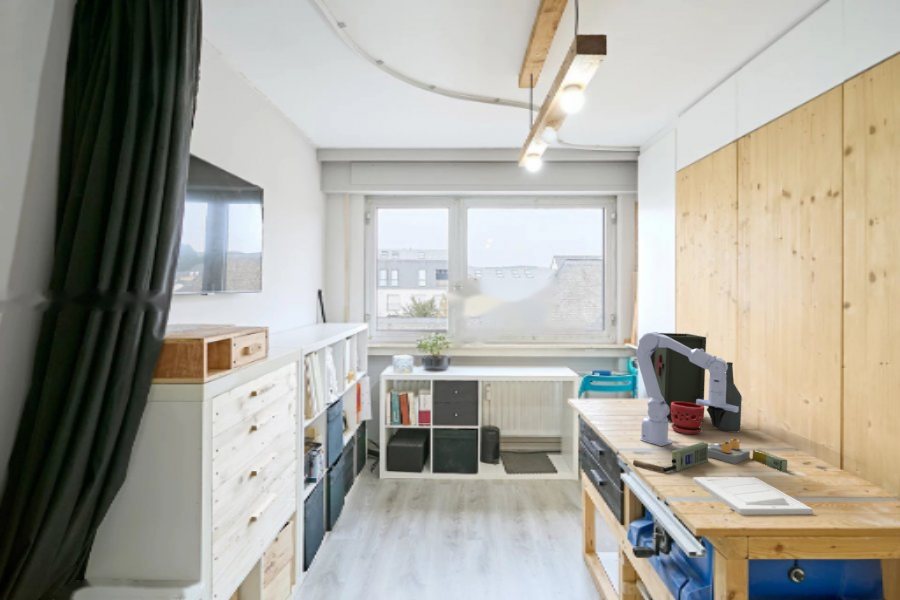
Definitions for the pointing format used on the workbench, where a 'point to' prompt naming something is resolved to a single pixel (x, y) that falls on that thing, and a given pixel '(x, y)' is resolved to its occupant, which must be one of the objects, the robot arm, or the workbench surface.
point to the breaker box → (727, 454)
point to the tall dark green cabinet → (679, 371)
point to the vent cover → (751, 496)
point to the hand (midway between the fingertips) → (716, 427)
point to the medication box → (770, 460)
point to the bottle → (733, 397)
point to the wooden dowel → (648, 466)
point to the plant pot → (687, 417)
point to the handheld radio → (688, 457)
